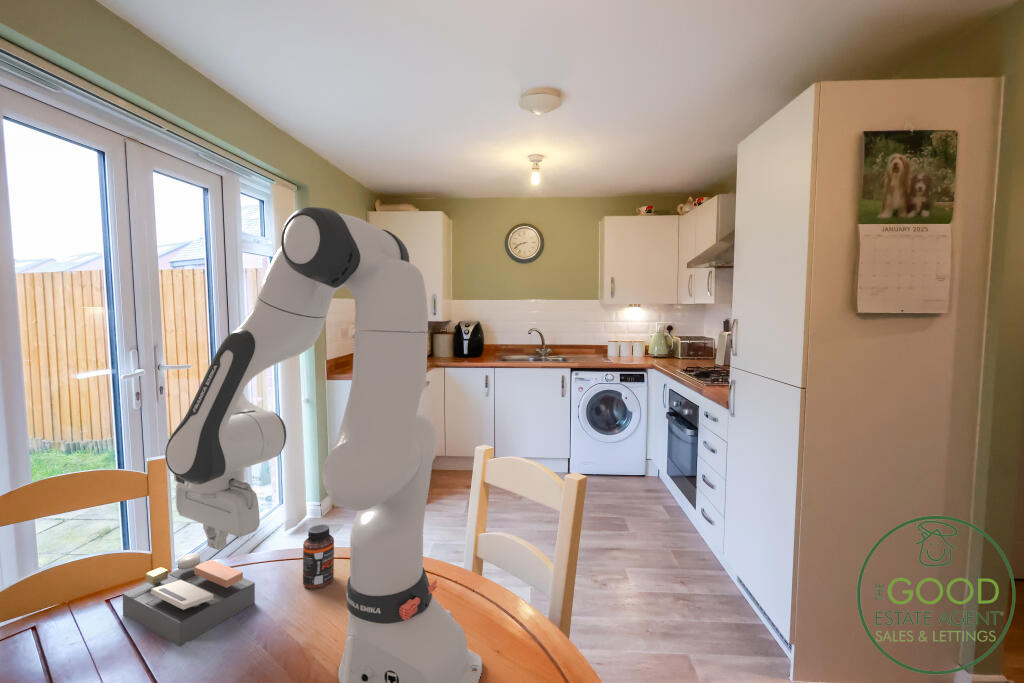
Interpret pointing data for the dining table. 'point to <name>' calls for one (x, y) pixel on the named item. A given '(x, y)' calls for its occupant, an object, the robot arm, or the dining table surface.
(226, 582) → the terracotta button
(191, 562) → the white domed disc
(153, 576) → the slider knob
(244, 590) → the panel
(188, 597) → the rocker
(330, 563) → the supplement bottle
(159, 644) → the dining table surface
